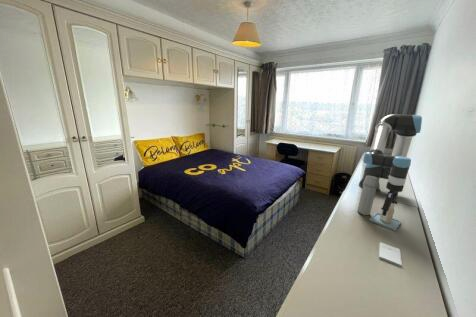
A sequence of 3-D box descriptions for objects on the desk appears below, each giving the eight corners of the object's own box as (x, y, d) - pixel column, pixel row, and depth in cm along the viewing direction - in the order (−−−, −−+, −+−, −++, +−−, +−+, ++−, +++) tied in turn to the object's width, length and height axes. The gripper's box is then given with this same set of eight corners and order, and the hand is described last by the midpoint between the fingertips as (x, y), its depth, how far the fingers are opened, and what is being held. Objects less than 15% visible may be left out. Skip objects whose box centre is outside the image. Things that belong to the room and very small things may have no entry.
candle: (377, 219, 119) (381, 204, 116) (383, 217, 121) (387, 203, 118) (387, 224, 114) (391, 209, 111) (393, 222, 116) (397, 207, 113)
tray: (376, 213, 126) (376, 211, 126) (400, 223, 117) (401, 221, 116) (368, 220, 118) (369, 218, 118) (394, 231, 109) (395, 229, 108)
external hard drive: (378, 259, 89) (379, 244, 99) (401, 268, 84) (399, 251, 94) (379, 256, 89) (379, 241, 98) (402, 265, 84) (400, 249, 94)
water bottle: (356, 208, 132) (364, 174, 125) (370, 212, 128) (379, 176, 121) (356, 214, 124) (364, 178, 117) (371, 218, 120) (380, 181, 113)
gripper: (393, 176, 121) (385, 207, 127) (381, 186, 106) (372, 220, 112) (409, 180, 115) (399, 212, 121) (398, 191, 100) (387, 226, 106)
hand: (386, 216), depth 116 cm, fingers open, 12 cm apart
